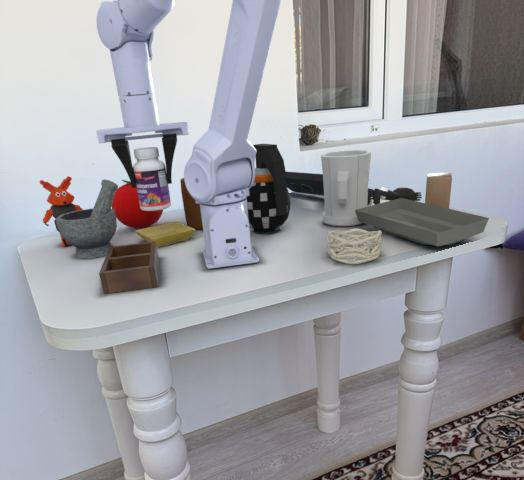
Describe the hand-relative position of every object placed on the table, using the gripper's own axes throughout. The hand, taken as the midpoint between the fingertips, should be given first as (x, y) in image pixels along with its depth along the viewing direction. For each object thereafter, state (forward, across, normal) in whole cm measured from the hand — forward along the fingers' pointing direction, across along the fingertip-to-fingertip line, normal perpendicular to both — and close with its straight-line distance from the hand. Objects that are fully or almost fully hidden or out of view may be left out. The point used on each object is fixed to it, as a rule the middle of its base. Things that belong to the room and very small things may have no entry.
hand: (152, 184), depth 84 cm
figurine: (+9, -48, -8) cm, 50 cm away
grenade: (+11, -20, 0) cm, 22 cm away
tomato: (+11, +4, -16) cm, 20 cm away
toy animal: (+11, +17, -9) cm, 22 cm away
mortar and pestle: (+11, +11, 0) cm, 15 cm away
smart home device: (+8, -31, -36) cm, 48 cm away
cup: (+10, -34, +1) cm, 36 cm away
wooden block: (+10, -48, +9) cm, 50 cm away
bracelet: (+9, -32, +23) cm, 41 cm away
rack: (+10, +4, +16) cm, 20 cm away
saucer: (+11, -1, -2) cm, 11 cm away
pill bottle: (+4, 0, 0) cm, 4 cm away
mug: (+11, -11, -11) cm, 19 cm away
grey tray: (+6, -42, +15) cm, 45 cm away
